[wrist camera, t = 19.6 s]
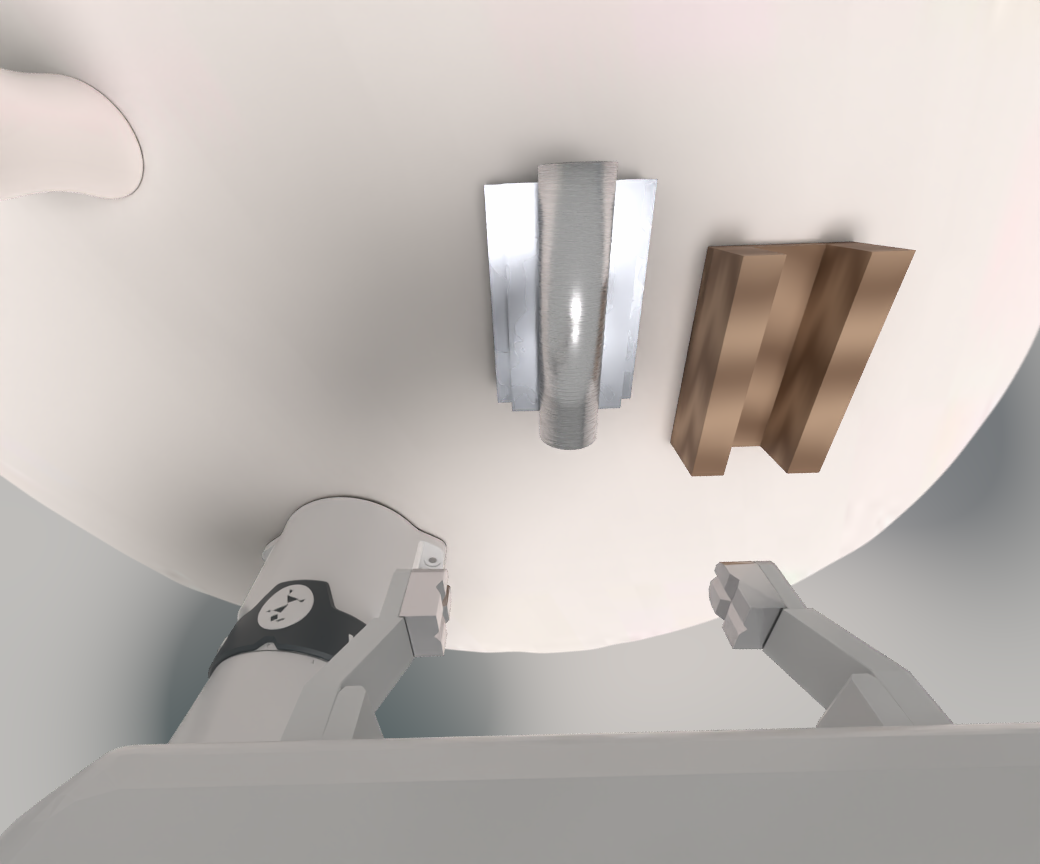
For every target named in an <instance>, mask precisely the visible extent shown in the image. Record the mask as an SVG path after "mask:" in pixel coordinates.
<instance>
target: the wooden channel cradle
mask: <svg viewBox="0 0 1040 864" xmlns="http://www.w3.org/2000/svg"><path fill="white" fill-rule="evenodd" d="M915 251H916V250H910V249H902V248H895V247H888V246H880V245H873V244H866V243H858V242H832V243H801V244H771V245H741V246H710V247H708V249H707V255H706V260H705V265H704V270H703V275H702V281H701V286H700V291H699V296H698V301H697V307H696V312H695V317H694V322H693V327H692V333H691V338H690V343H689V348H688V353H687V359H686V364H685V369H684V374H683V379H682V385H681V390H680V395H679V400H678V405H677V411H676V416H675V421H674V426H673V431H672V437H671V442H670V443H671V444H672V446H673V447H674V449H675V451H676V452H677V454H678V455H679V457H680V459H681V460H682V462H683V463H684V465H685V467H686V468H687V470H688V471H689V473H690V474H691V476H718V475H724V472H725V468H726V465H727V461H728V458H729V454H730V451H731V447H744V446H761V447H762V448H763V449H764V450H765V451H766V452H767V453H768V454H769V455H770V456H771V457H772V458H773V459H774V461H775V462H776V463H777V464H778V465H779V466H780V467H781V468H782V469H783V470H784V471H785V472H786V473H818V472H819V471H820V469H821V467H822V465H823V462H824V460H825V458H826V455H827V453H828V451H829V448H830V446H831V444H832V442H833V439H834V437H835V435H836V432H837V430H838V428H839V426H840V423H841V421H842V419H843V416H844V414H845V412H846V409H847V407H848V405H849V403H850V400H851V398H852V396H853V393H854V391H855V389H856V386H857V384H858V382H859V380H860V377H861V375H862V373H863V370H864V368H865V366H866V364H867V361H868V359H869V357H870V354H871V352H872V350H873V347H874V345H875V343H876V341H877V338H878V336H879V334H880V331H881V329H882V327H883V325H884V322H885V320H886V318H887V315H888V313H889V311H890V308H891V306H892V304H893V302H894V299H895V297H896V295H897V292H898V290H899V288H900V286H901V283H902V281H903V279H904V276H905V274H906V272H907V269H908V267H909V265H910V263H911V260H912V258H913V256H914V253H915Z"/></svg>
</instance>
